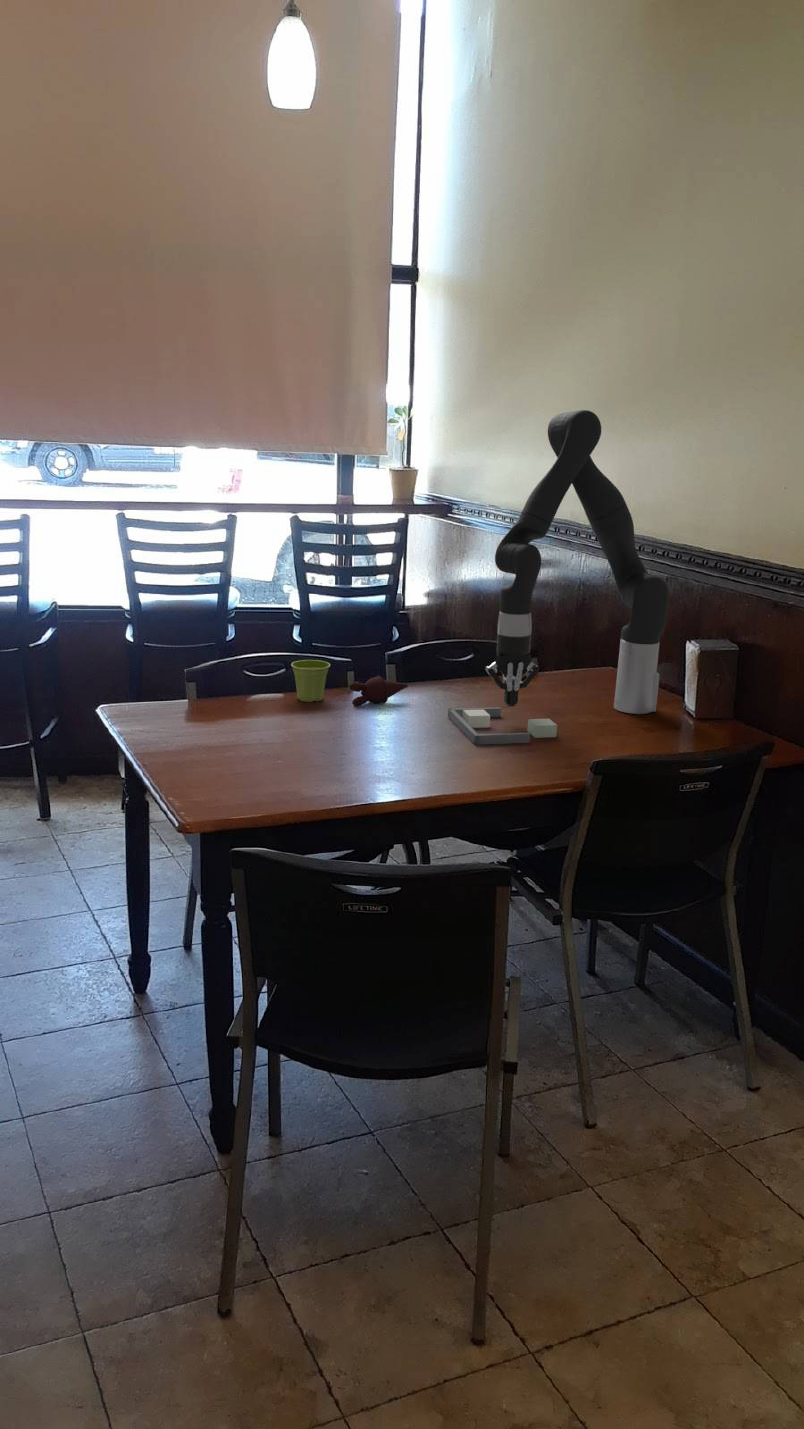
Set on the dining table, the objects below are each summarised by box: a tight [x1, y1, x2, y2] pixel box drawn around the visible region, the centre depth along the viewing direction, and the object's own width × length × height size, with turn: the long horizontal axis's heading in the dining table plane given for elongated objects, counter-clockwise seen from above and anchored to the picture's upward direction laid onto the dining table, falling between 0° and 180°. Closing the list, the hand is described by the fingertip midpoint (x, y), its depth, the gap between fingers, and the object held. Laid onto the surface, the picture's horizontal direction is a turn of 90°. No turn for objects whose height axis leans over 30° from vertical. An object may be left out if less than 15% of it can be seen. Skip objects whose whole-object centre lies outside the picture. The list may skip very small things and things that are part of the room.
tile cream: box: [462, 710, 491, 729], centre depth 254 cm, size 5×5×3 cm
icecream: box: [349, 675, 409, 707], centre depth 267 cm, size 7×7×15 cm
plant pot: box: [290, 659, 331, 703], centre depth 268 cm, size 9×9×9 cm
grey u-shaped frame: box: [447, 706, 531, 746], centre depth 251 cm, size 12×21×2 cm, turn 14°
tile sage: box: [526, 718, 558, 739], centre depth 249 cm, size 5×5×3 cm
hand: (510, 705), depth 256 cm, fingers closed
